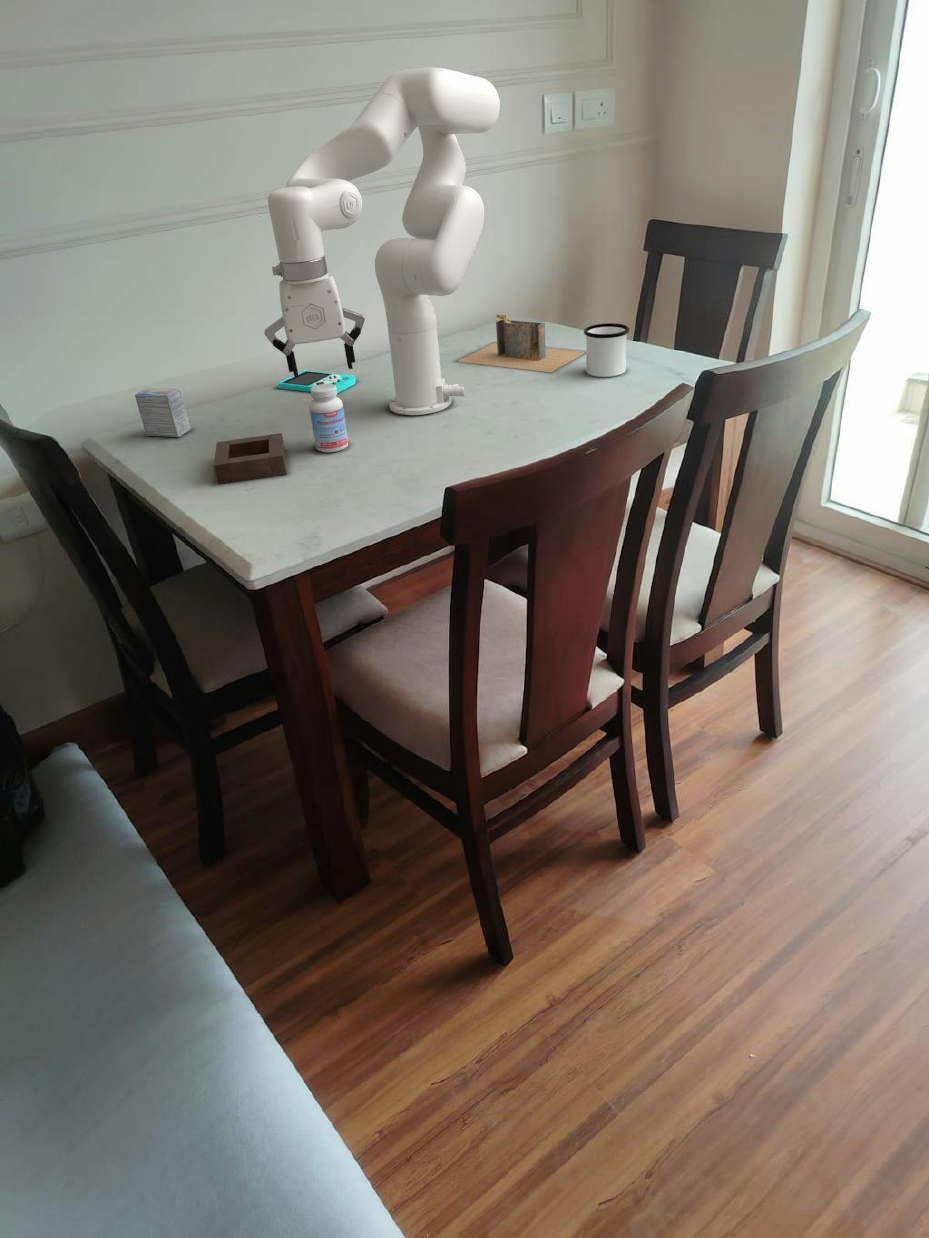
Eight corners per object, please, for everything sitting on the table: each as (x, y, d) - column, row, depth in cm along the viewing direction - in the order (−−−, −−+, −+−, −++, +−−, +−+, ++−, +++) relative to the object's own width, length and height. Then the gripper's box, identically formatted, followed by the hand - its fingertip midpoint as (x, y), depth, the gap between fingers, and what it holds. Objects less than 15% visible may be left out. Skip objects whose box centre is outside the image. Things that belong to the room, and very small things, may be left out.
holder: (285, 450, 163) (281, 432, 161) (286, 474, 153) (282, 455, 152) (220, 460, 162) (216, 441, 160) (218, 484, 152) (213, 465, 150)
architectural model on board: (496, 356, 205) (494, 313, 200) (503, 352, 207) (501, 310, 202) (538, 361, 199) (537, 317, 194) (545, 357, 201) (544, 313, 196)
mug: (616, 380, 183) (617, 336, 178) (576, 376, 188) (575, 332, 183) (640, 364, 191) (642, 321, 187) (601, 360, 196) (601, 318, 191)
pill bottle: (322, 456, 160) (312, 395, 154) (311, 446, 164) (301, 387, 158) (353, 448, 162) (344, 388, 156) (342, 438, 166) (332, 380, 160)
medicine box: (191, 430, 177) (181, 388, 173) (178, 438, 174) (167, 395, 169) (158, 428, 180) (147, 386, 175) (145, 436, 176) (133, 394, 172)
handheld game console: (333, 395, 190) (332, 388, 189) (276, 388, 197) (275, 382, 196) (360, 381, 197) (360, 375, 196) (304, 375, 204) (303, 369, 204)
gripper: (252, 282, 143) (274, 385, 152) (357, 267, 145) (373, 370, 154) (252, 272, 149) (274, 372, 158) (353, 258, 151) (369, 357, 160)
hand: (323, 371), depth 156 cm, fingers open, 9 cm apart
